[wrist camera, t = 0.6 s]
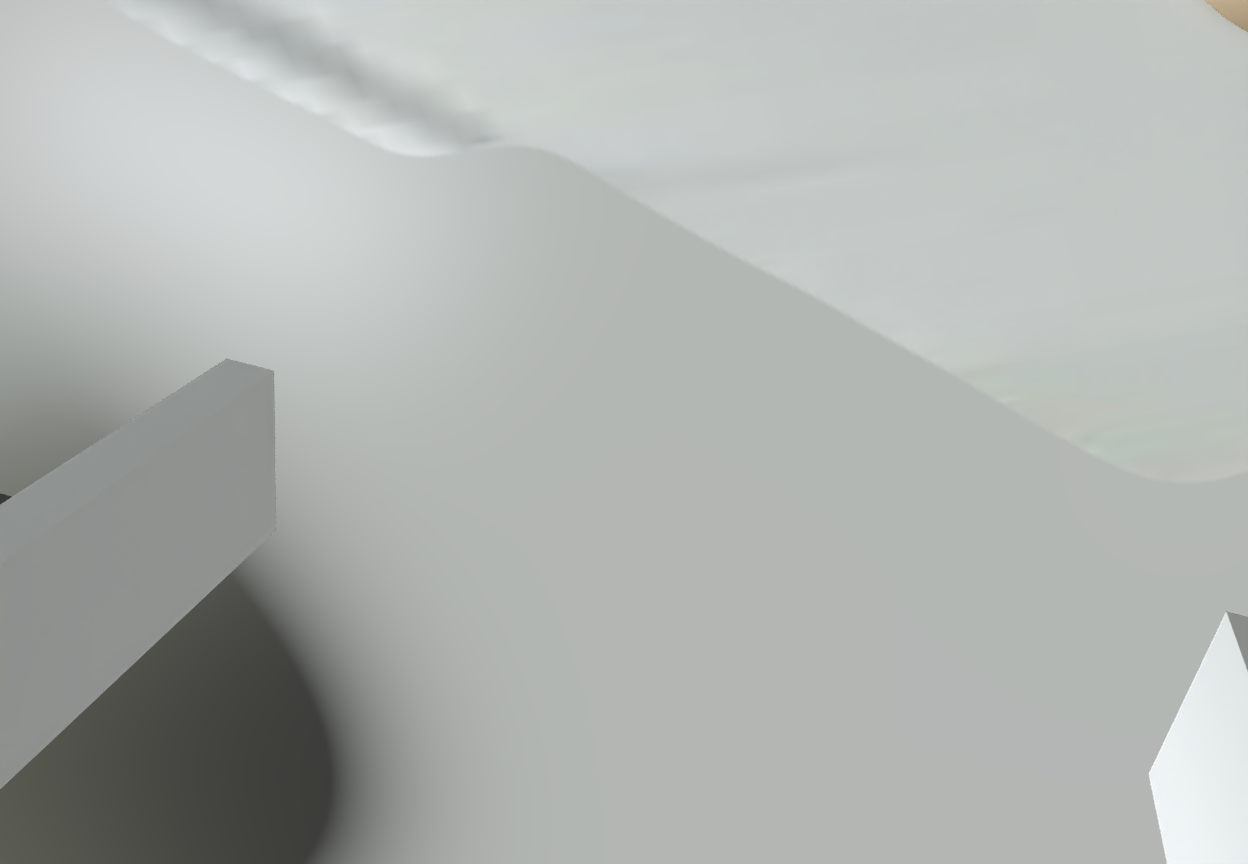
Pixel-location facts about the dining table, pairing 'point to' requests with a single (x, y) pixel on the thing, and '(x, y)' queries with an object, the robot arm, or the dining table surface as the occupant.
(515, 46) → the dining table surface
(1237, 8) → the coaster
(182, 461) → the robot arm
